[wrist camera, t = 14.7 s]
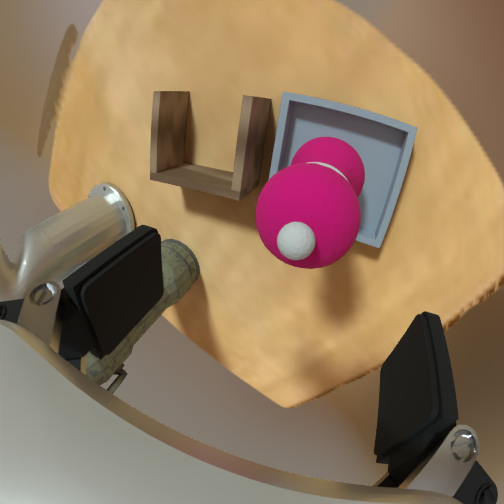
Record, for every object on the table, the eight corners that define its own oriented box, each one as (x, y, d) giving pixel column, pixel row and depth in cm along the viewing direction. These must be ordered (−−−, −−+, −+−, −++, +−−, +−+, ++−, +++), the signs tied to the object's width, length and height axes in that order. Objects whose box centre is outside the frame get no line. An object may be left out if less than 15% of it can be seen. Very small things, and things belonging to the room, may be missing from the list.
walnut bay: (257, 185, 33) (239, 200, 29) (177, 168, 36) (150, 179, 31) (271, 99, 28) (252, 96, 23) (182, 91, 30) (153, 91, 25)
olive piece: (163, 221, 42) (-22, 371, 13) (216, 274, 43) (62, 462, 14) (143, 251, 47) (-5, 383, 18) (189, 298, 48) (60, 453, 19)
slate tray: (378, 237, 31) (379, 248, 28) (270, 204, 34) (263, 212, 32) (411, 126, 23) (417, 127, 21) (289, 93, 27) (282, 91, 24)
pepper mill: (295, 189, 31) (216, 291, 15) (303, 128, 27) (219, 154, 11) (356, 203, 29) (348, 329, 13) (368, 141, 25) (396, 190, 9)
